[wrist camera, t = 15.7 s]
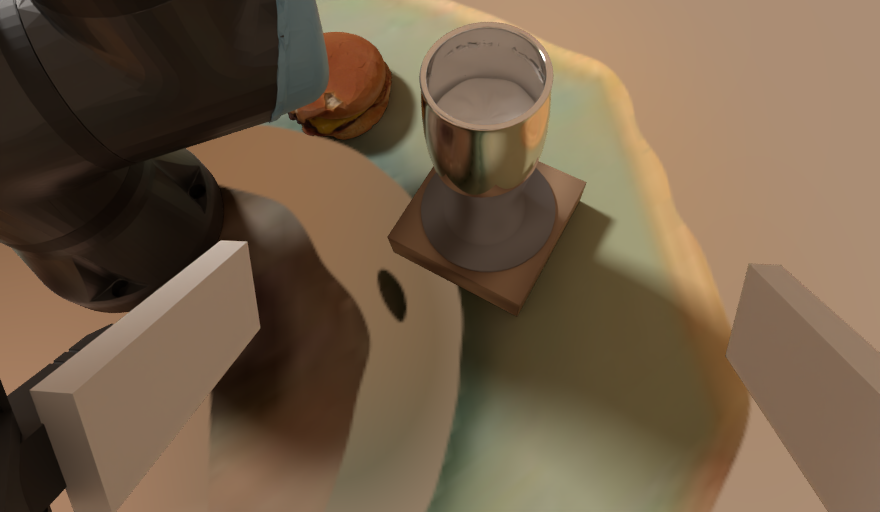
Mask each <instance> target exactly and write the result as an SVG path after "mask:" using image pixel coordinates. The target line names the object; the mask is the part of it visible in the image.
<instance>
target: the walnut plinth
mask: <svg viewBox="0 0 880 512" xmlns="http://www.w3.org/2000/svg"><path fill="white" fill-rule="evenodd" d="M585 185H586V182H584V181H582V180H580V179H577V178H575V177H573V176H571V175H568V174H566V173H564V172H562V171H559V170H557V169H555V168H553V167H550V166H548V165H546V164H544V163H541V162H539V161H538V163H537V166H536V168H535V170H534V172H533V174H532V175H531V177H530V179H529V181H528V183H527V184H526V186H525V188H524V190H523V193H524V197H525V204H526V211H525V217H524V220H523V222H522V224H521V226H520V227H519V229H518V230H517V231H516V233H515V234H514V235H512V236H511V237H510V238H508V239H507V240H505V241H503V242H501V243H498V244H495V245H488V246H480V245H474V244H470V243H468V242H465V241H463V240H462V239H460V238H459V237H457V236H456V235H455V234H454V233H453V232H452V231H451V229H450V228H449V226H448V225H447V223H446V220H445V217H444V199H445V195H446V189H445V187H444V185H443V183H442V182H441V180H440V178H439V176H438V174H437V172H436V170H435V168H434V166H433V168H432V169H431V171H430V172H429V174H428V176H427V177H426V179H425V180H424V182H423V183H422V185H421V186H420V188H419V189H418V191H417V192H416V194H415V196H414V197H413V199H412V200H411V202H410V204H409V205H408V206H407V208H406V209H405V211H404V213H403V214H402V216H401V217H400V219H399V220H398V222H397V223H396V225H395V226H394V228H393V229H392V231H391V232H390V234H389V236H388V239H389V241H390V244H391V246H392V249H393V251H394V252H395V253H397V254H399V255H401V256H403V257H405V258H406V259H408V260H410V261H412V262H414V263H416V264H418V265H420V266H422V267H424V268H425V269H427V270H429V271H431V272H433V273H435V274H437V275H439V276H441V277H443V278H445V279H446V280H449V281H451V282H452V283H454V284H456V285H458V286H460V287H462V288H464V289H466V290H467V291H469V292H471V293H473V294H475V295H477V296H479V297H481V298H483V299H485V300H487V301H488V302H490V303H492V304H494V305H496V306H498V307H500V308H502V309H504V310H506V311H508V312H509V313H511V314H513V315H515V316H518V314H519V312H520V310H521V309H522V307H523V305H524V303H525V301H526V299H527V298H528V296H529V294H530V292H531V290H532V288H533V286H534V285H535V283H536V281H537V279H538V277H539V275H540V273H541V272H542V270H543V268H544V266H545V264H546V262H547V260H548V259H549V257H550V255H551V253H552V251H553V249H554V247H555V246H556V244H557V242H558V240H559V238H560V236H561V235H562V233H563V231H564V229H565V227H566V225H567V223H568V222H569V220H570V218H571V216H572V214H573V212H574V210H575V209H576V207H577V205H578V203H579V201H580V199H581V196H582V193H583V190H584V188H585Z"/></svg>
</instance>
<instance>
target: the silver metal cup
mask: <svg viewBox="0 0 880 512" xmlns="http://www.w3.org/2000/svg"><path fill="white" fill-rule="evenodd" d="M419 80H420V88H421V110H422V122H423V130H424V136H425V141H426V145H427V149H428V153H429V156H430V158H431V161H432V163H433V166H434V168H435V170H436V172H437V174H438V176H439V178H440V180H441V182H442V183H443V185H444V187H445V189H446V195H445V199H444V217H445V220H446V223H447V225H448V226H449V228H450V229H451V231H452V232H453V233H454V234H455V235H456V236H457V237H459V238H460V239H462V240H463V241H465V242H468V243H470V244H474V245H480V246H488V245H495V244H498V243H501V242H503V241H505V240H507V239H508V238H510V237H511V236H512V235H514V234H515V233H516V231H517V230H518V229H519V227H520V226H521V224H522V222H523V220H524V217H525V211H526V204H525V197H524V193H523V190H524V188H525V186H526V184H527V183H528V181H529V179H530V177H531V175H532V174H533V172H534V170H535V168H536V166H537V163H538V161H539V159H540V156H541V154H542V151H543V148H544V144H545V140H546V136H547V132H548V125H549V118H550V106H551V88H552V83H553V68H552V63H551V60H550V57H549V55H548V53H547V52H546V50H545V48H544V47H543V46H542V45H541V44H540V42H539V41H538V40H536V39H535V38H534V37H533V36H532V35H530V34H529V33H527V32H525V31H524V30H522V29H519V28H517V27H514V26H511V25H508V24H503V23H496V22H480V23H473V24H469V25H465V26H462V27H459V28H457V29H454V30H452V31H450V32H449V33H447V34H445V35H444V36H442V37H441V38H440V39H439V40H438V41H436V42H435V43H434V44H433V46H432V47H431V48H430V49H429V51H428V52H427V54H426V55H425V57H424V59H423V62H422V65H421V69H420V76H419Z"/></svg>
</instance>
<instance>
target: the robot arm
mask: <svg viewBox="0 0 880 512" xmlns="http://www.w3.org/2000/svg"><path fill="white" fill-rule="evenodd" d="M328 81H329V64H328V57H327V51H326V46H325V40H324V35H323V31H322V26H321V21H320V17H319V13H318V8H317V4H316V0H0V242H1V243H3V244H5V245H7V246H9V247H11V248H12V249H13V250H14V251H15V252H16V253H17V255H18V256H20V258H21V259H22V260H23V261H24V262H25V263H26V264H27V266H28V267H29V268H30V269H31V270H32V271H33V272H34V273H35V274H36V276H37V277H38V278H39V279H40V280H41V281H42V282H43V283H44V285H46V286H47V287H48V288H49V289H50V290H51V291H53V292H54V293H56V294H57V295H59V296H60V297H62V298H64V299H66V300H68V301H70V302H73V303H75V304H78V305H80V306H83V307H85V308H88V309H91V310H95V311H100V312H108V313H122V312H129V313H128V314H126V315H125V316H124V317H122V318H121V319H120V320H119V321H117V322H116V323H115V324H110V325H108V326H106V327H104V328H101V329H99V330H97V331H95V332H93V333H91V334H89V335H87V336H86V337H84V338H83V339H82V340H80V341H79V342H78V343H76V344H75V345H74V346H72V347H71V348H70V349H69V352H64V353H63V354H62V355H61V356H59V357H58V358H57V359H55V360H54V363H53V364H49V365H47V366H46V367H45V368H43V369H42V370H41V371H39V372H38V373H37V374H36V375H35V376H33V377H32V378H30V379H29V380H28V381H26V382H25V383H24V384H22V385H21V386H20V387H18V388H17V389H16V390H15V391H13V392H12V393H11V394H9V395H8V396H7V395H6V393H5V390H4V388H3V385H2V383H1V380H0V512H52V510H51V508H50V504H51V503H52V502H53V501H54V500H55V499H56V498H57V497H58V496H59V494H60V493H61V492H62V491H63V490H64V489H66V491H67V494H68V497H69V499H70V502H71V505H72V507H73V510H74V512H117V510H118V509H119V508H120V506H121V505H122V504H123V502H124V501H125V500H126V499H127V498H128V496H129V495H130V494H131V492H132V491H133V490H134V489H135V487H136V486H137V485H138V483H139V482H140V481H141V479H142V478H143V477H144V476H145V475H146V473H147V472H148V471H149V469H150V468H151V467H152V466H153V464H154V463H155V462H156V461H157V459H158V458H159V457H160V456H161V454H162V453H163V452H164V450H165V449H166V448H167V447H168V445H169V444H170V443H171V441H172V440H173V439H174V438H175V436H176V435H177V434H178V433H179V431H180V430H181V429H182V427H183V426H184V425H185V424H186V422H187V421H188V420H189V419H190V417H191V416H192V415H193V413H194V412H195V411H196V410H197V408H198V407H199V406H200V405H201V403H202V402H203V401H204V399H205V398H206V397H207V396H208V394H209V393H210V392H211V391H212V389H213V388H214V387H215V385H216V384H217V383H218V382H219V380H220V379H221V378H222V377H223V375H224V374H225V373H226V371H227V370H228V369H229V368H230V366H231V365H232V364H233V363H234V361H235V360H236V359H237V357H238V356H239V355H240V354H241V352H242V351H243V350H244V349H245V347H246V346H247V345H248V343H249V342H250V341H251V340H252V338H253V337H254V336H255V335H256V333H257V332H258V331H259V329H260V322H259V315H258V308H257V302H256V295H255V288H254V282H253V275H252V269H251V262H250V255H249V249H248V242H246V241H223V240H221V241H219V242H218V243H217V241H218V238H219V235H220V232H221V228H222V222H223V201H222V196H221V192H220V189H219V186H218V184H217V182H216V180H215V178H214V177H213V175H212V174H211V173H210V172H209V170H208V169H207V168H206V167H205V166H204V165H203V164H202V163H201V162H200V161H199V159H197V158H196V156H195V155H193V154H192V153H191V152H190V151H188V150H187V149H186V148H187V147H190V146H193V145H197V144H200V143H203V142H206V141H209V140H212V139H215V138H219V137H222V136H225V135H228V134H231V133H234V132H237V131H241V130H243V129H247V128H250V127H253V126H256V125H260V124H263V123H266V122H269V123H270V122H273V121H276V120H278V119H279V118H280V116H281V115H284V114H286V113H289V112H291V111H293V110H296V109H298V108H301V107H303V106H306V105H308V104H311V103H313V102H315V101H316V100H317V99H318V98H320V96H321V95H322V94H323V93H324V92H325V90H326V88H327V85H328ZM216 243H217V244H216ZM725 356H726V358H727V359H728V361H729V362H730V364H731V365H732V367H733V368H734V370H735V371H736V373H737V374H738V376H739V377H740V379H741V380H742V382H743V383H744V385H745V386H746V388H747V390H748V391H749V393H750V394H751V396H752V397H753V399H754V400H755V402H756V403H757V405H758V406H759V408H760V409H761V411H762V412H763V414H764V415H765V417H766V418H767V420H768V421H769V423H770V424H771V426H772V427H773V429H774V430H775V432H776V433H777V435H778V436H779V438H780V439H781V441H782V443H783V444H784V445H785V447H786V449H787V450H788V452H789V453H790V454H791V456H792V458H793V459H794V461H795V462H796V464H797V465H798V467H799V468H800V470H801V471H802V473H803V474H804V476H805V477H806V479H807V481H808V482H809V484H810V485H811V487H812V488H813V490H814V491H815V493H816V494H817V496H818V497H819V499H820V500H821V502H822V503H823V504H824V506H825V508H826V509H827V511H828V512H880V352H878V351H877V350H876V349H875V348H874V347H873V346H872V345H871V344H869V343H868V342H867V341H866V340H865V339H864V338H863V337H862V336H861V335H859V334H858V333H857V332H856V331H855V330H854V329H853V328H851V327H850V326H849V325H848V324H847V323H846V322H844V320H842V319H841V318H840V317H839V316H838V315H837V314H836V313H835V312H833V311H832V310H831V309H830V308H829V307H828V306H827V305H825V304H824V303H823V302H822V301H821V300H820V299H819V298H818V297H817V296H815V295H814V294H813V293H812V292H811V291H810V290H809V289H807V288H806V287H805V286H804V285H803V284H802V283H801V282H800V281H798V280H797V279H796V278H795V277H794V276H793V275H792V274H791V273H789V272H788V271H787V270H786V269H785V268H784V267H783V266H782V265H771V264H748V268H747V272H746V276H745V280H744V284H743V288H742V292H741V296H740V301H739V304H738V308H737V312H736V316H735V320H734V324H733V328H732V332H731V336H730V340H729V344H728V347H727V351H726V355H725Z"/></svg>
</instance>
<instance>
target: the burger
mask: <svg viewBox="0 0 880 512" xmlns="http://www.w3.org/2000/svg"><path fill="white" fill-rule="evenodd" d="M323 35H324V40H325V46H326V51H327V57H328V64H329V81H328V85H327V88H326V90H325V92H324V93H323V94H322V95H321V96H320V98H318V99H317V100H316V101H315V102H313V103H311V104H308V105H306V106H303V107H301V108H298V109H296V110H293V111H291V112H289V113H288V115H289V118H290V120H297V123H298V124H302V126H303V128H302V130H303V132H304V133H306V134H307V135H311V136H314V135H317V136H334V137H335V138H337V139H342V140H344V139H351V138H354V137H357V136H359V135H361V134H363V133H365V132H367V131H368V130H370V129H371V128H372V126H373V125H374V124H376V123H378V121H379V120H380V118H381V117H382V115H383V113H384V111H385V109H386V107H387V105H388V99H389V96H390V87H391V83H392V81H391V78H392V76H391V73H392V72H390V69H389V67H388V65H387V64H386V63H385V62H384V61H383V58H382V56H381V54H380V52H379V51H378V49H377V48H376V47H375V46H374V45H373V44H371V43H370V42H369V41H367V40H366V39H364V38H362V37H360V36H357V35H354V34H350V33H345V32H328V33H323Z"/></svg>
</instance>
